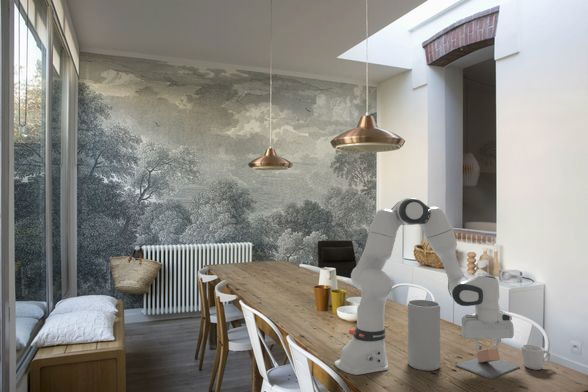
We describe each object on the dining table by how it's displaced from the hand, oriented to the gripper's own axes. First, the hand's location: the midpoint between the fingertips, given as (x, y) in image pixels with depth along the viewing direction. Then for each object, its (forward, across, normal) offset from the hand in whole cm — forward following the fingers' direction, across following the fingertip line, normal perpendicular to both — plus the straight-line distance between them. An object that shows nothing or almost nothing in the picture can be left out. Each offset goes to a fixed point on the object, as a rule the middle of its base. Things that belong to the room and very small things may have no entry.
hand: (487, 349), depth 170 cm
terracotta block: (+5, 0, +4) cm, 6 cm away
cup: (+7, +19, -2) cm, 21 cm away
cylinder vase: (+7, -25, +3) cm, 26 cm away
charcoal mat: (+7, 0, 0) cm, 7 cm away
